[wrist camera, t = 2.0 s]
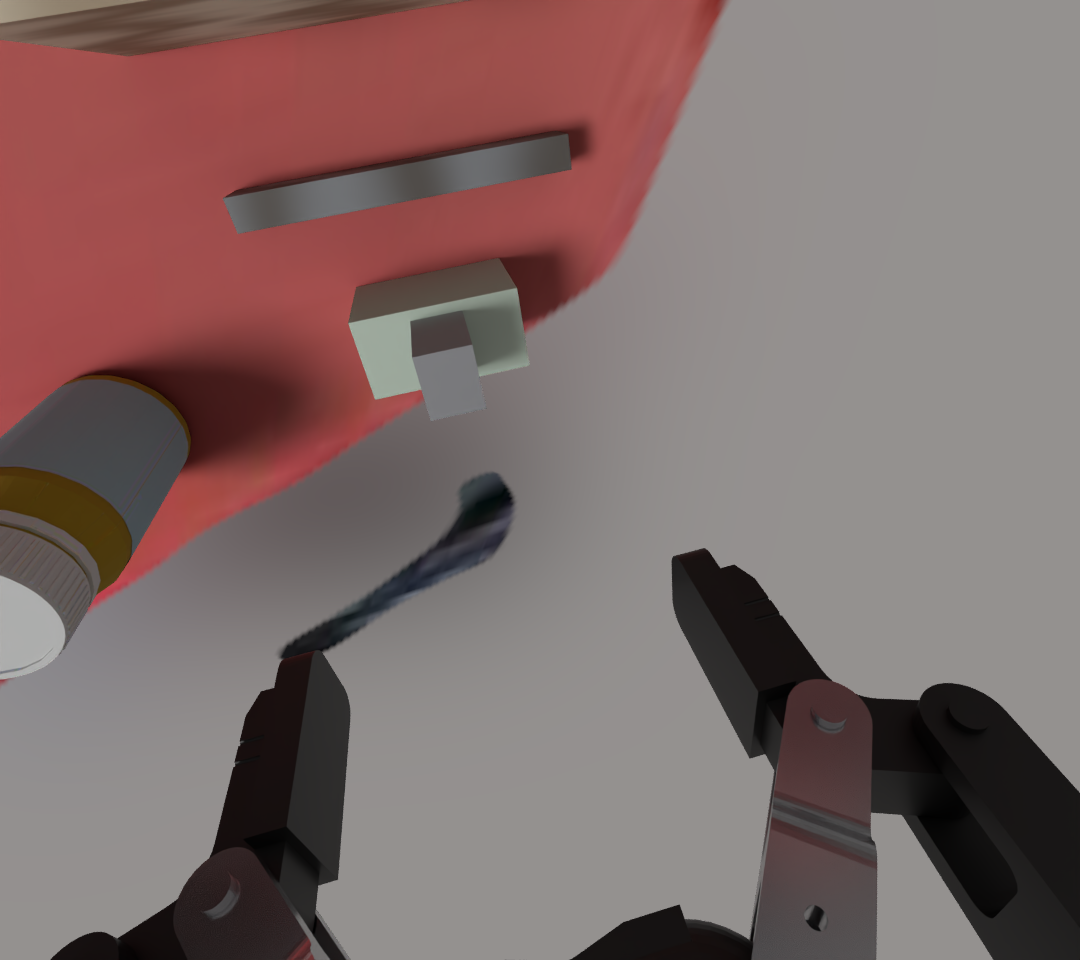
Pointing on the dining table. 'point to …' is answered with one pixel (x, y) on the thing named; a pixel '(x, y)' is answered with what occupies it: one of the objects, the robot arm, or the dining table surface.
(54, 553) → the bottle
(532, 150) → the wall board
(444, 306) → the cabinet block
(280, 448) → the dining table surface
